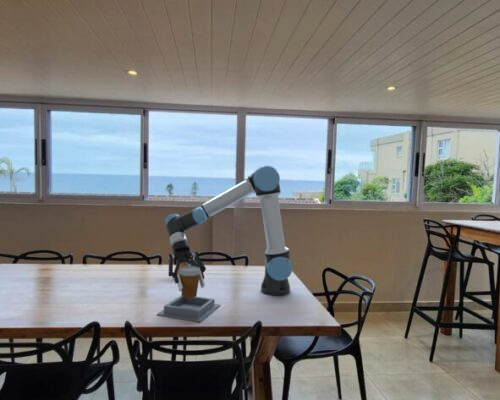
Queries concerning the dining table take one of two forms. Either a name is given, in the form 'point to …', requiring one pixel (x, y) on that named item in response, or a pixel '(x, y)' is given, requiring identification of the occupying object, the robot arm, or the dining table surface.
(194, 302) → the tray
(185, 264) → the small box
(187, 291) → the disposable coffee cup
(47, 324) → the dining table surface
